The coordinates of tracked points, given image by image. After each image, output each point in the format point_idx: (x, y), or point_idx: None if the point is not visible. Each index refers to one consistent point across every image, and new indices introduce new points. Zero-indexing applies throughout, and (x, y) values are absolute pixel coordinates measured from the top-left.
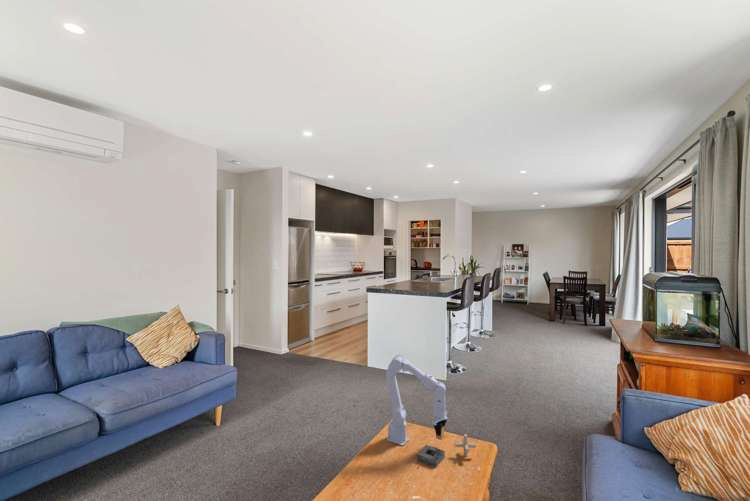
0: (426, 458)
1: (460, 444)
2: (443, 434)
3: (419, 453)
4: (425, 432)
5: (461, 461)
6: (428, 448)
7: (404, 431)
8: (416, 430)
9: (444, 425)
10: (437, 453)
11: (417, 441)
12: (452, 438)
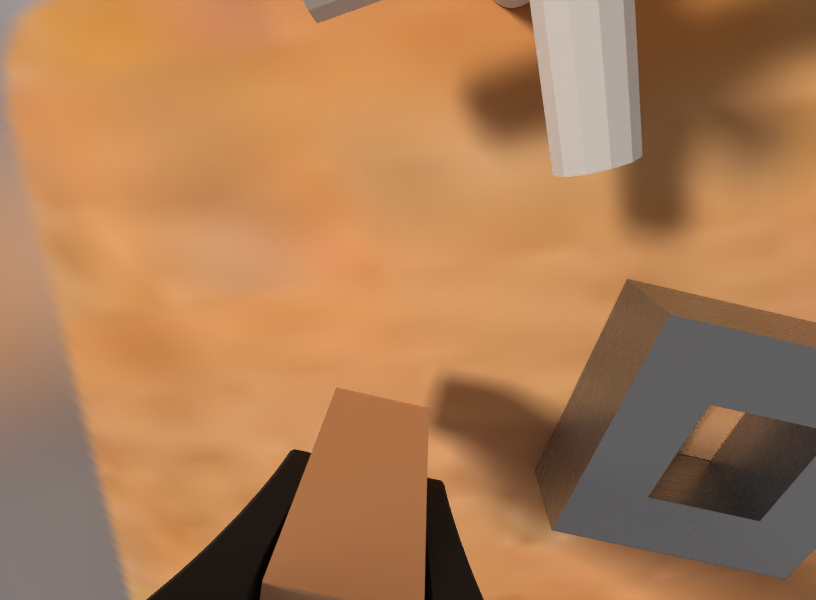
0: None
1: (630, 19)
2: (335, 428)
3: (770, 563)
4: (188, 516)
5: (710, 18)
6: (637, 500)
7: None
8: None
9: (227, 578)
10: (755, 395)
11: None
12: (128, 249)
